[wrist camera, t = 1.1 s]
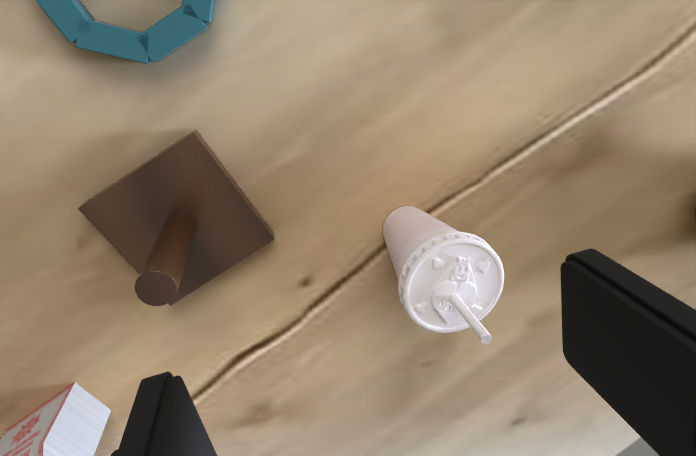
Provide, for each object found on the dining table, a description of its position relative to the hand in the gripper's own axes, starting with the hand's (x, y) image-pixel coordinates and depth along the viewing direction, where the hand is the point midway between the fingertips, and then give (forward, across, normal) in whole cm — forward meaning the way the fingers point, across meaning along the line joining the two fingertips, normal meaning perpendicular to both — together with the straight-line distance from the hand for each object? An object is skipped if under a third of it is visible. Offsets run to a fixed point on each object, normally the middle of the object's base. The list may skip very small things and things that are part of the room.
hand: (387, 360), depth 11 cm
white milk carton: (+24, +23, +16) cm, 37 cm away
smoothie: (+24, -7, +8) cm, 26 cm away
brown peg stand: (+23, +9, +3) cm, 25 cm away
